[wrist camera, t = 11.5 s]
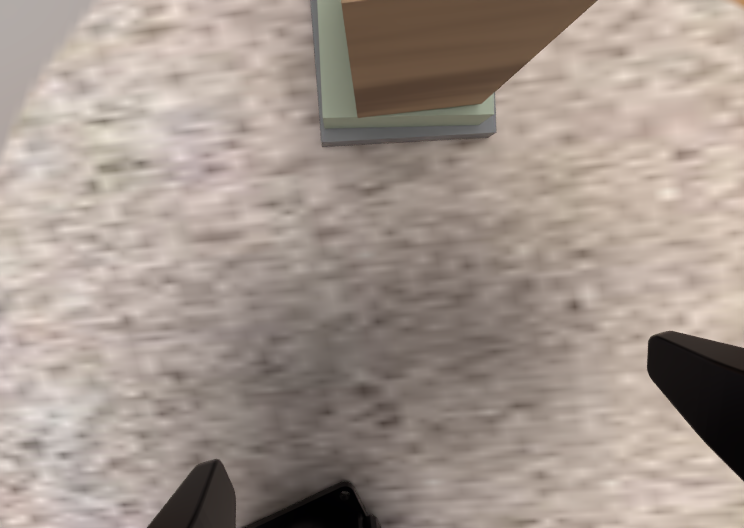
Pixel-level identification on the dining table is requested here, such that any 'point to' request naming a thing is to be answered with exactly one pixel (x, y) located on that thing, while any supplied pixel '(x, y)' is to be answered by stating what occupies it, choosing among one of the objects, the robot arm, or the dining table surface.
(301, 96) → the dining table surface
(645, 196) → the dining table surface
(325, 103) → the sage top slab
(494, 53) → the walnut pillar
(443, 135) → the gray base slab
